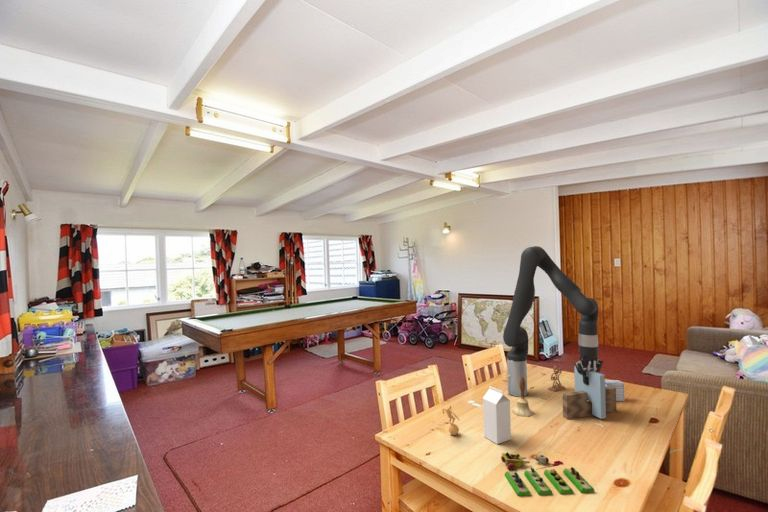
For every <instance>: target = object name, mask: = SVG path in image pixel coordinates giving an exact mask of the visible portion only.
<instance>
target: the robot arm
mask: <svg viewBox="0 0 768 512" xmlns="http://www.w3.org/2000/svg"><path fill="white" fill-rule="evenodd" d="M537 268H539V269H541V270H542V271H543V272H544V273H545V274H546V275H547V276H548V277H549V279H550V280H551V283H552V284H553V285H554V287H555V288H556V289H557V291H559V293H561V295H563V296H564V297H565V298H566V299H567V300H568V301H569V303H570V304H571V306H572V307H573V308H574V309H575V310H576V311H577V312H578V313H579V314H580V319H579V322H578V339H577V340H578V354H579V360H578V361H575V362H573V365H574V366H576V369H577V371H578V373H579V374H581V375H583V383H584V384H585V385H589V377H588V376H589V371H590V370H592V371H595V372H598V373H600V372H601V368H602V367H603V363H604V361H603V360H601V359H599V358H598V356H599V336H598V316H599V304H598V302H597V301H596V300H595V298H592V297H586V296H585V294H584V293H583V292H582V290H581V288H580V287H579V286H578V284H576V283H575V282H574V281H573V280H572V279H570V277H569V276H567V274H565V273H564V271H563V270H562V269H560V267H559V266H558V265H557V264H556V263H555V261H554V260H553V259H552V258H551V256H550V255H549V254H548V253H547V251H546V250H545V249H544V248H543V247H542V246H538V245H537V246H535V245H534V246H529V247H526V248H524V250H523V251H522V252H521V255H520V264H519V271H518V277H517V281H516V285H515V289H514V293H513V298H512V303H511V307H510V311H509V316H508V318H507V321H506V324H505V327H504V330H503V336H502V338H503V342H504V344H505V345H506V346H507V347H509V348H510V347H511V349H510V350H508V352H507V353H506V361H507V362H506V363H507V364H506V365H507V366H506V368H507V372H506V376H507V377H506V379H507V380H506V382H507V384H506V385H507V387H506V388H507V394H508V396H514V397H520V398H521V390H520V387H519V381H520V377H521V376H522V377H524V380H525V390H524V396H528V372H527V371H528V367H527V364H528V363H527V357H528V355H529V335H528V332H527V330H526V329H525V328H524V327H523V326H521V325H522V322H523V320H524V319H525V318H526V316H528V313H529V312H530V311H531V309H532V307H533V303H534V299H535V295H536V289H535V274H536V271H537ZM586 368H587V369H586ZM585 371H586V373H585Z"/></svg>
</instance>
